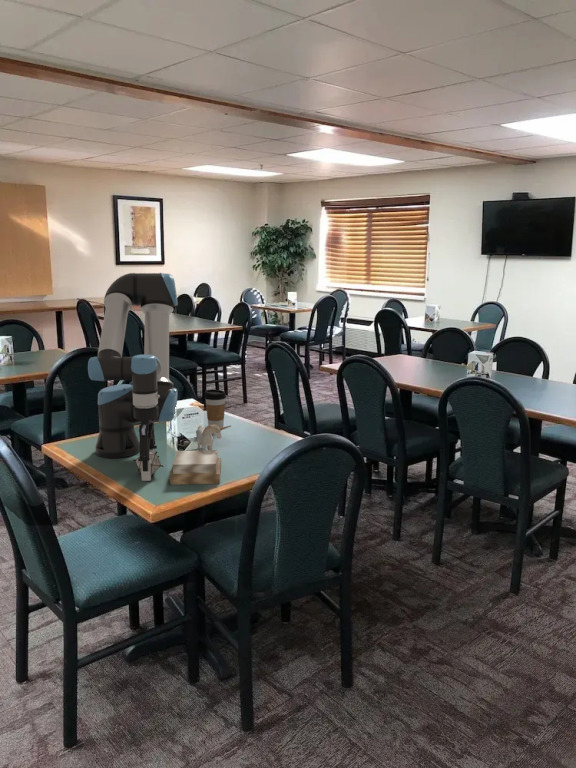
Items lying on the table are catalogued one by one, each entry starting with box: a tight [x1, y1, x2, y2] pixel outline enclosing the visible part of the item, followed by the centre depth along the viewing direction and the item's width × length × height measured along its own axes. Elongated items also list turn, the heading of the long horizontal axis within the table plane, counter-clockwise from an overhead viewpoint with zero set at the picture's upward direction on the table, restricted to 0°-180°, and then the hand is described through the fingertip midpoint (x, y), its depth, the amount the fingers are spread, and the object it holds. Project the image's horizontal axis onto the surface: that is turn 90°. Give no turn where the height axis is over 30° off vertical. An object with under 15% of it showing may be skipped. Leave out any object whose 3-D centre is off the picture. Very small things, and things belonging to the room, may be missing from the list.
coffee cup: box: [204, 388, 227, 428], centre depth 246 cm, size 8×8×15 cm
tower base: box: [169, 449, 222, 486], centre depth 195 cm, size 15×15×6 cm
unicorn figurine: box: [195, 424, 232, 451], centre depth 210 cm, size 7×20×13 cm, turn 37°
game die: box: [132, 451, 164, 479], centre depth 195 cm, size 9×8×10 cm
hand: (148, 474), depth 195 cm, fingers open, 9 cm apart
